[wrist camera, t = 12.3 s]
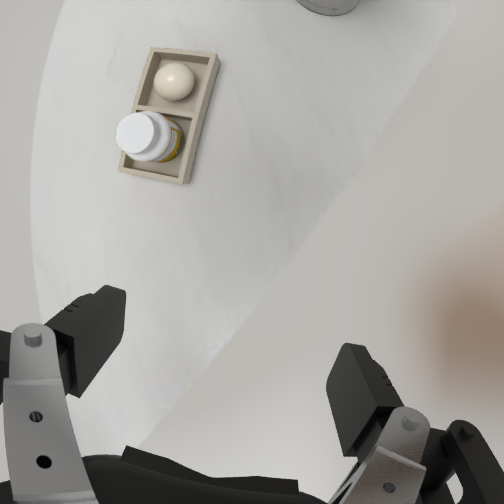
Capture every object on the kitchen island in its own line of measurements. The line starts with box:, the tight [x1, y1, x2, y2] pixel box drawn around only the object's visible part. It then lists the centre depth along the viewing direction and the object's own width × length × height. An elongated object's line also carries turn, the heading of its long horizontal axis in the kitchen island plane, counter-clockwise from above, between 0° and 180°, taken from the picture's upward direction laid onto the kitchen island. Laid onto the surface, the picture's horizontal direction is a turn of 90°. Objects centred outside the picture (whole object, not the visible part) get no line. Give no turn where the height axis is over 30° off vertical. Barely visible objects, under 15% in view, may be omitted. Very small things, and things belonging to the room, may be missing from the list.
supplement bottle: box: [116, 111, 185, 162], centre depth 30 cm, size 5×5×10 cm
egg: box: [153, 62, 195, 101], centre depth 31 cm, size 5×5×5 cm
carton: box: [118, 47, 220, 184], centre depth 33 cm, size 16×8×4 cm, turn 166°
